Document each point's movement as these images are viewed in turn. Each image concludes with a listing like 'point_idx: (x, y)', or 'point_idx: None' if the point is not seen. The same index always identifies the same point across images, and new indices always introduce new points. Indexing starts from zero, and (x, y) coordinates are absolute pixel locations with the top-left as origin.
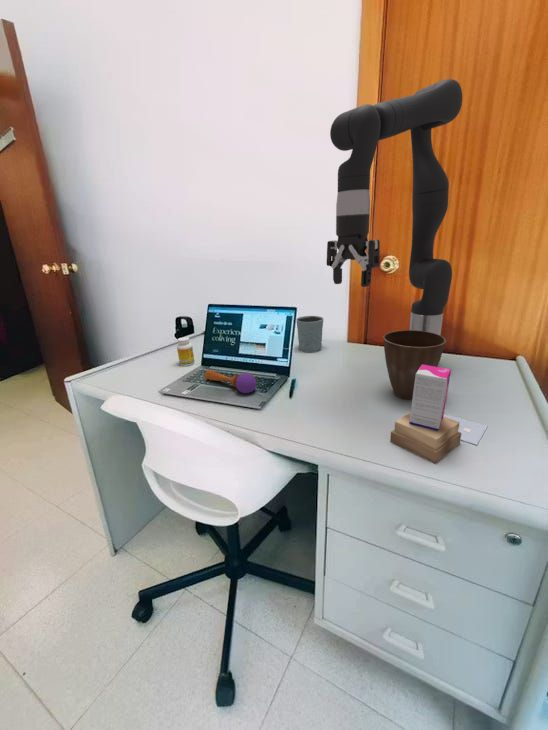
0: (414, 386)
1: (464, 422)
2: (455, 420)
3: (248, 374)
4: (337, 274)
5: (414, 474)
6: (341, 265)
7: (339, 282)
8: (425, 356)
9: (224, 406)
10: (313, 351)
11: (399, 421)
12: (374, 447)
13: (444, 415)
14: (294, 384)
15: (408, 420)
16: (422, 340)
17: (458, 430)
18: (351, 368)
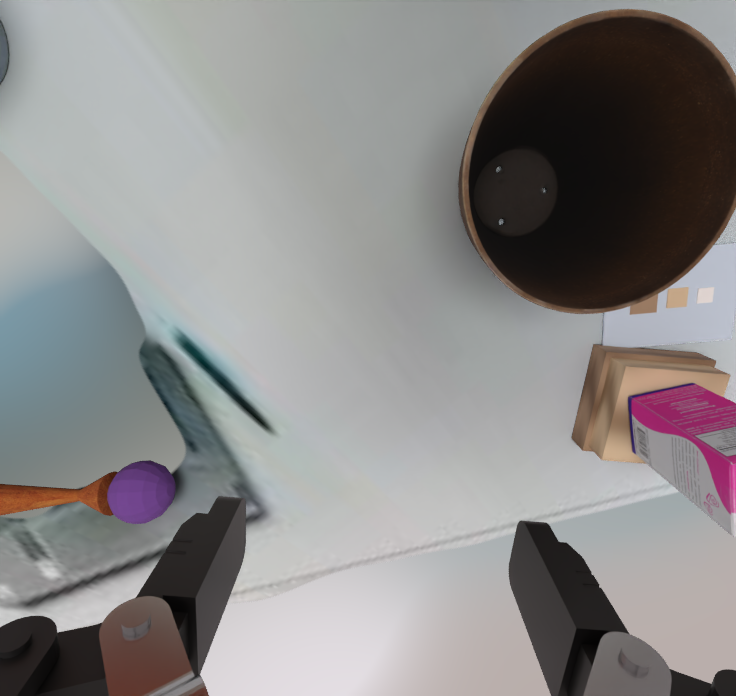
0: (704, 512)
1: None
2: None
3: (135, 505)
4: (218, 610)
5: (645, 493)
6: (176, 636)
7: (243, 526)
8: (663, 258)
9: None
10: (3, 70)
11: (609, 454)
12: (553, 472)
13: None
14: (211, 363)
15: (625, 438)
16: (587, 43)
17: (687, 308)
18: (253, 127)
